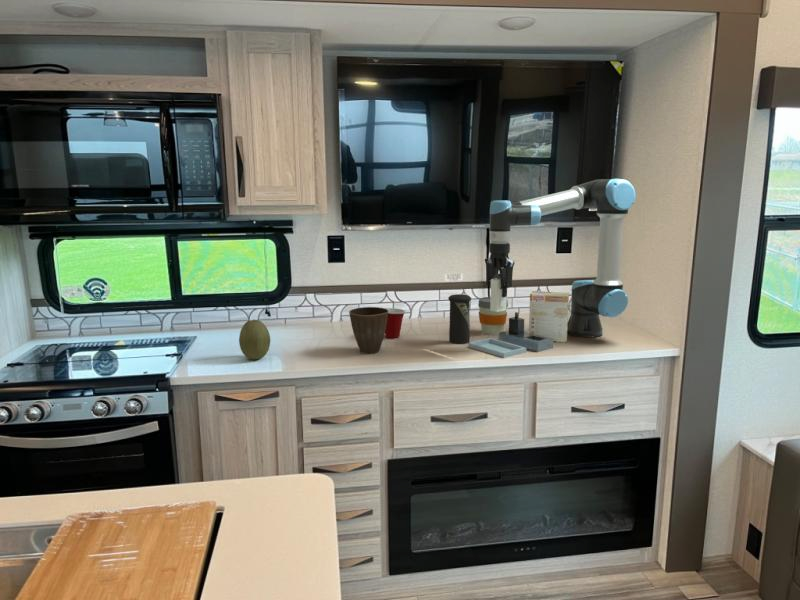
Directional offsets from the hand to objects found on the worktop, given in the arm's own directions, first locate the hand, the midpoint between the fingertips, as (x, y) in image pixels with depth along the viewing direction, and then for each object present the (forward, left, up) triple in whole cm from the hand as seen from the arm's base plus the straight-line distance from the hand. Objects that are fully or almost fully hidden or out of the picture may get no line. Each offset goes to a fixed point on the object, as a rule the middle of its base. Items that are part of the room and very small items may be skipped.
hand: (498, 304), depth 225 cm
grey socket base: (-14, +2, -18) cm, 23 cm away
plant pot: (+38, -31, -19) cm, 53 cm away
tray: (0, 0, -18) cm, 18 cm away
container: (+3, -18, -19) cm, 26 cm away
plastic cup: (+18, -43, -19) cm, 50 cm away
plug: (0, 0, -2) cm, 2 cm away
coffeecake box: (-30, 0, -19) cm, 35 cm away
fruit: (+77, -49, -19) cm, 93 cm away
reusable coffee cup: (-19, -21, -19) cm, 34 cm away
